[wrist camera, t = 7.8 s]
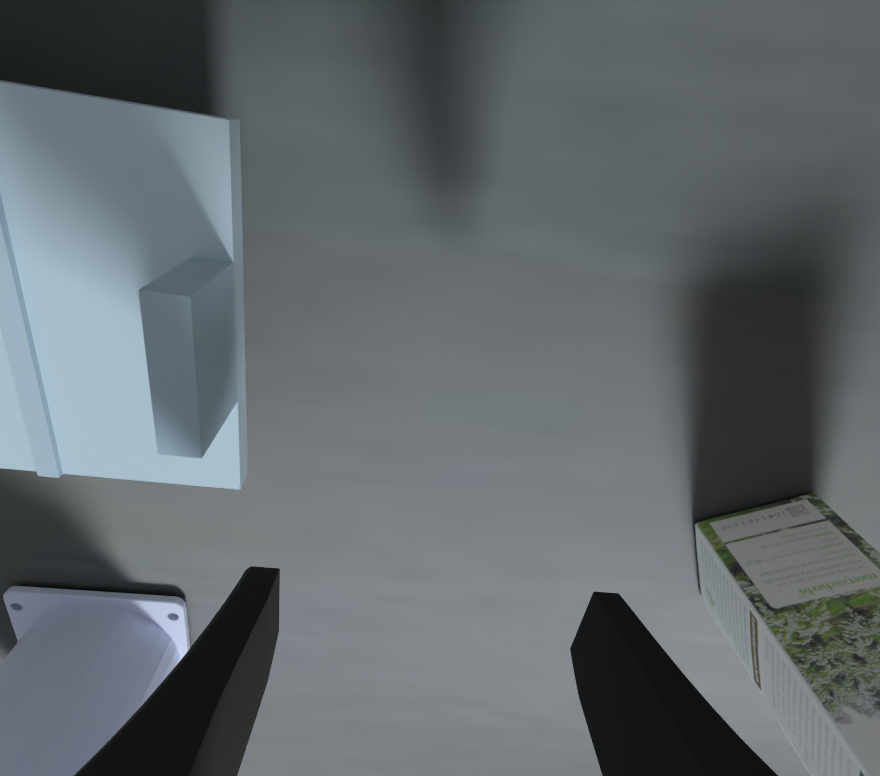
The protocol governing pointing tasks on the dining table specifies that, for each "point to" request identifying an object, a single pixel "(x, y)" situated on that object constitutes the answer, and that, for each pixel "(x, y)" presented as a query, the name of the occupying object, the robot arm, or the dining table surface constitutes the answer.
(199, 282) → the lid
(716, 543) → the syrup box
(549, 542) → the dining table surface
